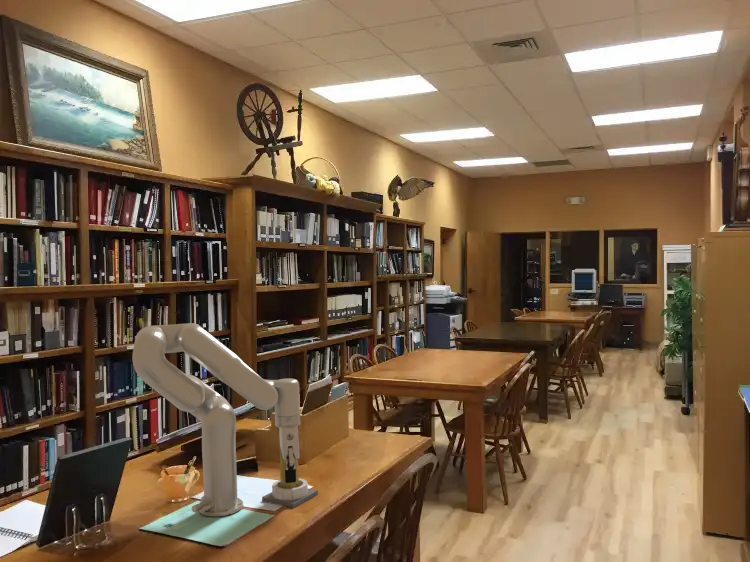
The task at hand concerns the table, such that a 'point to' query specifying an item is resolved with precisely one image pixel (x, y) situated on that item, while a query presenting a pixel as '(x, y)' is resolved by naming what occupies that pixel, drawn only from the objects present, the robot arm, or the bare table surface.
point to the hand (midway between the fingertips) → (289, 478)
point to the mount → (290, 494)
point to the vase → (282, 474)
